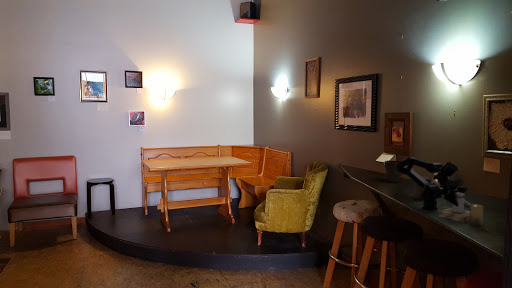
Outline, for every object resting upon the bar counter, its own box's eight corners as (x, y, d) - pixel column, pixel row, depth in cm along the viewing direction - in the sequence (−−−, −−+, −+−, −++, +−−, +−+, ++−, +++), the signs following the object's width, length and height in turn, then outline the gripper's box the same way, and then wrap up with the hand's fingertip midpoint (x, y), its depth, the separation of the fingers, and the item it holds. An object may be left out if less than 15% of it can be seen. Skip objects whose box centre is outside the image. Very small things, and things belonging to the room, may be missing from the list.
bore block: (438, 216, 218) (438, 211, 218) (451, 212, 226) (452, 207, 226) (463, 222, 207) (464, 217, 206) (477, 218, 215) (477, 212, 214)
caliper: (454, 202, 250) (455, 192, 250) (456, 202, 250) (456, 192, 250) (475, 210, 230) (476, 200, 229) (477, 210, 230) (478, 200, 230)
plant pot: (379, 180, 316) (380, 161, 314) (393, 179, 322) (394, 159, 320) (393, 184, 302) (394, 163, 301) (407, 182, 309) (408, 162, 307)
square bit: (451, 216, 217) (452, 193, 216) (457, 215, 219) (458, 192, 218) (458, 218, 214) (459, 194, 212) (463, 217, 215) (464, 193, 214)
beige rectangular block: (466, 224, 204) (467, 205, 203) (472, 222, 208) (473, 203, 207) (478, 227, 200) (479, 207, 199) (484, 225, 203) (485, 206, 202)
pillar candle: (431, 200, 253) (432, 177, 252) (415, 199, 255) (416, 176, 254) (428, 197, 263) (429, 174, 261) (412, 196, 264) (413, 174, 263)
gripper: (441, 174, 214) (457, 199, 205) (465, 172, 221) (482, 196, 212) (429, 186, 222) (444, 210, 213) (453, 183, 229) (468, 206, 220)
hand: (460, 205), depth 214 cm, fingers closed on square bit, 4 cm apart
